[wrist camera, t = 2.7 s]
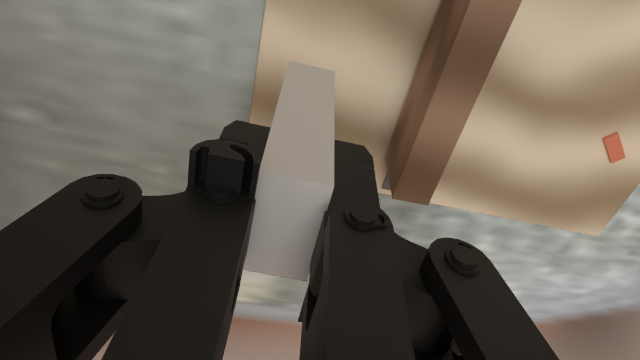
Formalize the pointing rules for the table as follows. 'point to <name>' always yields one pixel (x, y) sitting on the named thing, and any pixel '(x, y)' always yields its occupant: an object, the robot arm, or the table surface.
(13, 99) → the table surface
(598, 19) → the dial board
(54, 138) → the table surface
